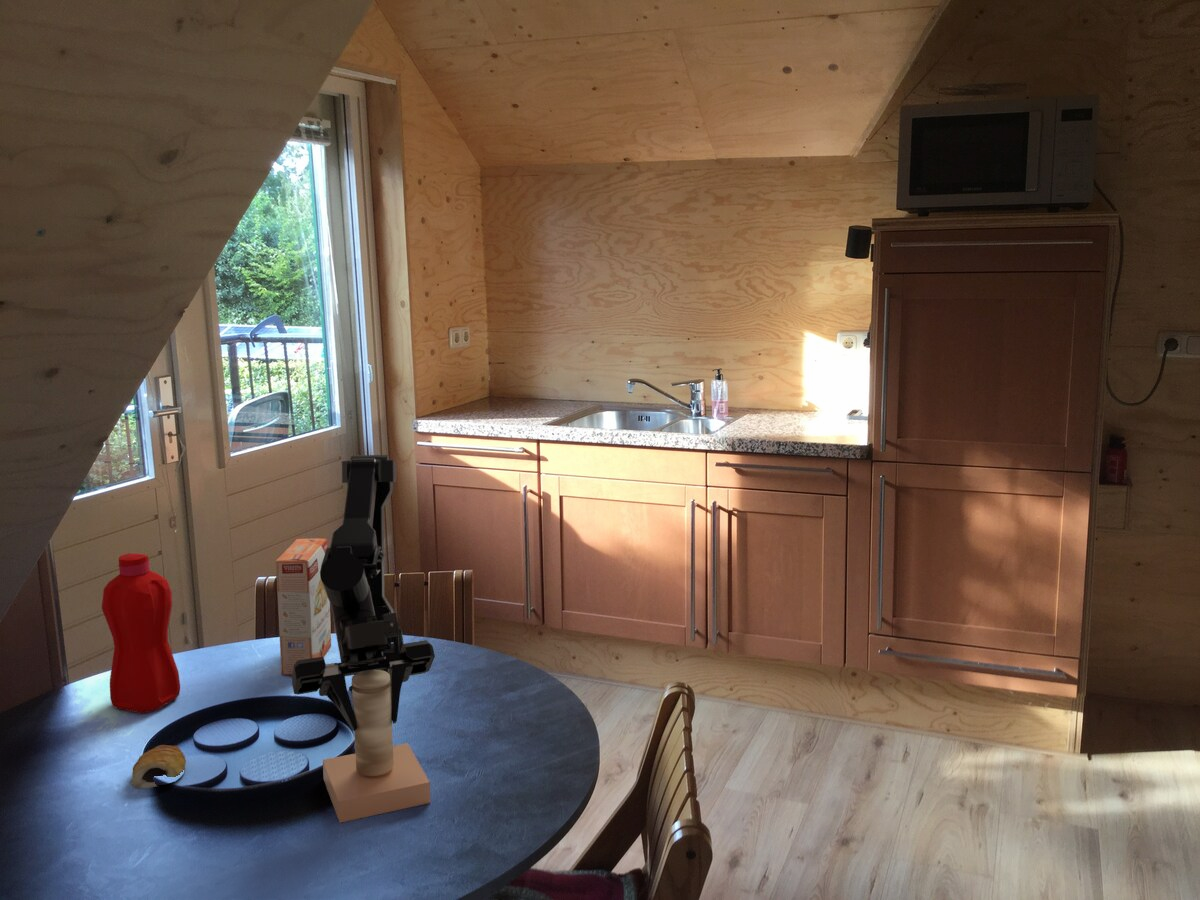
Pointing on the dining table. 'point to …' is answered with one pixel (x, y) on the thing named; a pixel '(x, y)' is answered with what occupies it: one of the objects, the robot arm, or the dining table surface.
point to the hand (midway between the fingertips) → (375, 726)
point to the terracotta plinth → (375, 786)
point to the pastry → (157, 765)
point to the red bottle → (140, 637)
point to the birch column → (373, 722)
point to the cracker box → (302, 603)
